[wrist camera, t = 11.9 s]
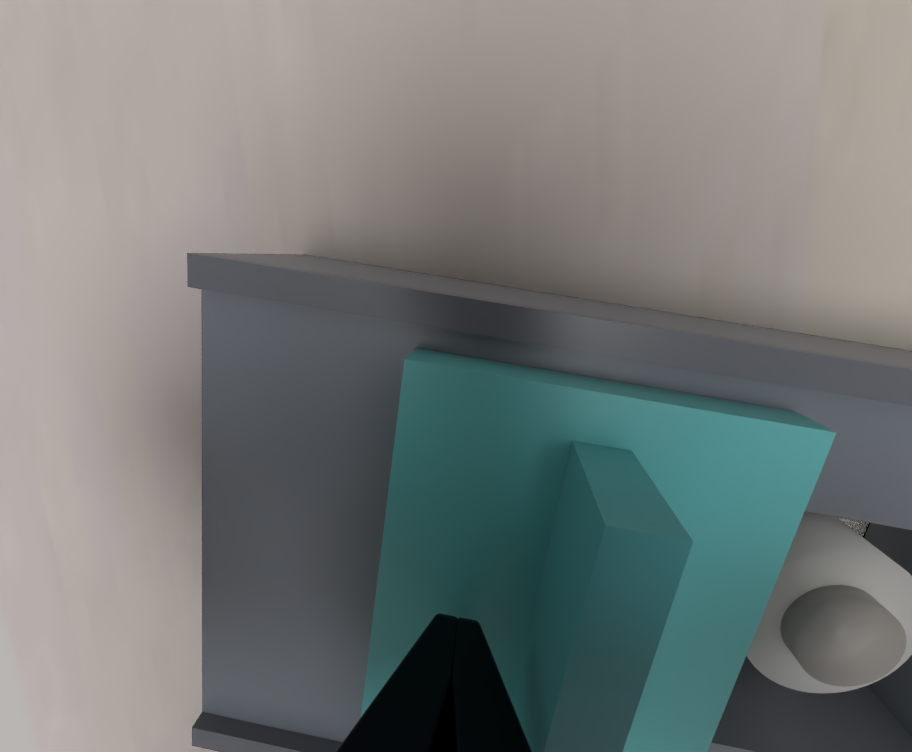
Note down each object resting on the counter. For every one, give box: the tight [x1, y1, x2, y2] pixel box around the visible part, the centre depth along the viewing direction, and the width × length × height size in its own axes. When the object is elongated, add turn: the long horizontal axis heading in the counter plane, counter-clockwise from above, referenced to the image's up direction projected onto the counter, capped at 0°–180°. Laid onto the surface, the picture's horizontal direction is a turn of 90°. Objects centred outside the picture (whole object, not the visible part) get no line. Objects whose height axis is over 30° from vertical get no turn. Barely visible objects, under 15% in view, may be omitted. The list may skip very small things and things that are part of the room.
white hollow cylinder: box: [746, 511, 912, 693], centre depth 12 cm, size 4×4×4 cm
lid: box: [361, 348, 836, 752], centre depth 8 cm, size 10×7×4 cm
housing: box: [187, 253, 912, 752], centre depth 11 cm, size 12×24×5 cm, turn 81°
